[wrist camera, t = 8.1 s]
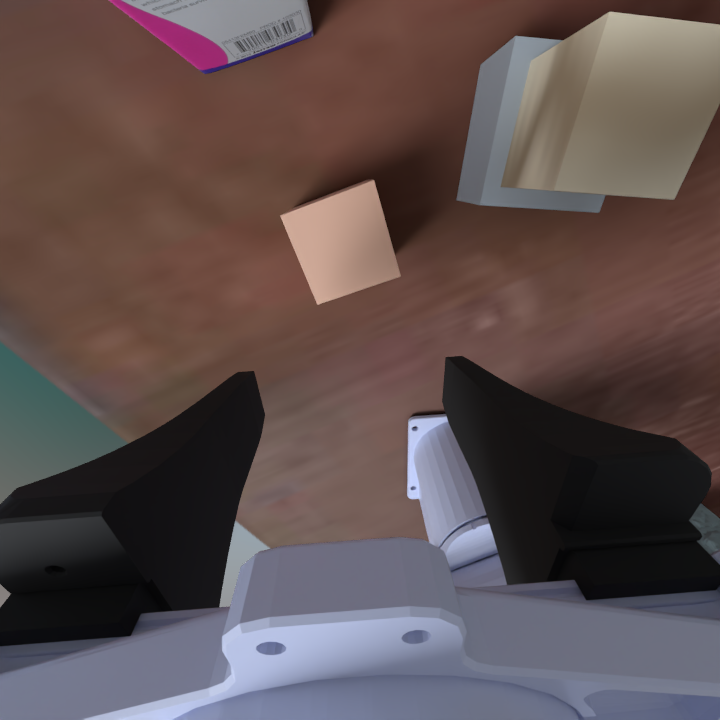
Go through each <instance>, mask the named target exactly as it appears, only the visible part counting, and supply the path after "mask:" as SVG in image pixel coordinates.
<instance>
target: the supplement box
mask: <svg viewBox="0 0 720 720" xmlns="http://www.w3.org/2000/svg"><path fill="white" fill-rule="evenodd" d="M109 1H110V2H112V3H113V4H114V5H115V6H117V7H118V8H119V9H120V10H122V11H123V12H125V13H126V14H127V15H129V16H130V17H131V18H132V19H134V20H135V21H136V22H138V23H139V24H140V25H141V26H143V27H144V28H145V29H147V30H148V31H149V32H151V33H152V34H153V35H154V36H156V37H157V38H159V39H160V40H161V41H163V42H164V43H165V44H167V45H168V46H169V47H171V48H172V49H173V50H174V51H176V52H177V53H178V54H180V55H181V56H182V57H183V58H185V59H186V60H187V61H188V62H190V63H191V64H192V65H194V66H195V67H196V68H197V69H199V70H200V71H201V72H203V73H204V74H207V73H212V72H215V71H218V70H221V69H224V68H227V67H230V66H233V65H236V64H239V63H242V62H245V61H247V60H250V59H253V58H256V57H258V56H261V55H264V54H267V53H270V52H272V51H275V50H278V49H281V48H283V47H286V46H288V45H291V44H294V43H296V42H299V41H302V40H304V39H307V38H310V37H312V36H313V26H312V22H311V16H310V11H309V7H308V2H307V0H109Z"/></svg>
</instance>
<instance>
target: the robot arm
mask: <svg viewBox="0 0 720 720" xmlns="http://www.w3.org/2000/svg"><path fill="white" fill-rule="evenodd" d="M442 402H443V406H444V409H445V413H446V414H439V415H425V416H414V417H411V418H410V419H409V421H408V468H407V495H408V497H409V498H410V499H419V500H420V504H421V509H422V513H423V517H424V521H425V526H426V530H427V534H428V539H429V542H427V541H425V540H423V539H418V538H406V537H390V538H377V539H363V540H350V541H337V542H324V543H311V544H298V545H285V546H280V547H276V548H272V549H268V550H264V551H260V552H258V553H257V554H255V555H254V556H253V557H252V558H251V559H249V560H248V561H247V562H246V563H245V564H243V565H242V566H241V568H240V572H239V575H238V579H237V583H236V587H235V590H234V594H233V598H232V602H231V605H230V607H219V604H220V598H221V591H222V585H223V579H224V574H225V568H226V563H227V557H228V552H229V547H230V542H231V537H232V532H233V527H234V523H235V519H236V514H237V510H238V505H239V501H240V498H241V494H242V491H243V488H244V485H245V482H246V479H247V476H248V473H249V470H250V468H251V465H252V462H253V459H254V456H255V453H256V450H257V447H258V444H259V441H260V438H261V434H262V429H263V423H264V417H265V413H264V409H263V405H262V401H261V397H260V393H259V389H258V385H257V381H256V377H255V373H254V371H248V372H237V373H236V374H234V375H233V376H231V377H230V378H228V379H227V380H226V381H224V382H223V383H222V384H221V385H219V386H218V387H217V388H215V389H214V390H213V391H211V392H210V393H209V394H207V395H206V396H205V397H204V398H202V399H201V400H200V401H198V402H197V403H195V404H194V405H192V406H191V407H190V408H188V409H187V410H185V411H184V412H182V413H181V414H180V415H178V416H177V417H175V418H174V419H172V420H170V421H169V422H167V423H166V424H164V425H162V426H161V427H159V428H157V429H155V430H154V431H152V432H150V433H148V434H147V435H145V436H143V437H141V438H139V439H137V440H135V441H133V442H131V443H129V444H127V445H125V446H123V447H121V448H119V449H117V450H115V451H113V452H111V453H108V454H106V455H104V456H102V457H99V458H97V459H95V460H92V461H90V462H88V463H85V464H82V465H80V466H78V467H75V468H72V469H70V470H67V471H65V472H62V473H59V474H56V475H53V476H51V477H48V478H46V479H42V480H39V481H36V482H34V483H31V484H28V485H25V486H22V487H19V488H17V489H16V490H14V491H13V492H12V494H10V495H9V496H8V497H7V498H6V499H5V500H4V501H3V502H2V503H1V504H0V584H1V585H2V586H3V587H4V588H5V589H6V590H7V591H9V592H10V593H12V594H11V595H10V596H9V597H8V599H7V600H6V601H5V602H4V604H3V605H2V606H1V607H0V720H720V549H719V550H717V551H715V552H713V553H711V554H709V553H708V552H707V551H706V550H705V549H704V548H703V547H702V546H701V545H700V544H699V543H698V542H697V541H698V540H700V539H701V538H702V534H701V532H700V531H699V530H698V529H697V528H696V527H695V526H694V525H693V524H692V523H691V522H690V521H689V520H690V518H691V517H692V516H693V514H694V513H695V511H696V510H697V508H698V507H699V505H700V504H701V502H702V501H703V499H704V498H705V496H706V494H707V492H708V490H709V488H710V486H711V475H712V473H711V471H710V468H709V466H708V465H707V464H706V463H705V462H704V461H702V460H701V459H700V458H699V457H697V456H696V455H695V454H694V453H693V452H691V451H690V450H689V449H688V448H686V447H685V446H684V445H683V444H681V443H680V442H679V441H678V440H676V439H675V438H670V437H665V436H660V435H656V434H651V433H646V432H641V431H637V430H632V429H628V428H624V427H620V426H616V425H613V424H609V423H605V422H602V421H598V420H595V419H592V418H588V417H585V416H582V415H579V414H576V413H574V412H571V411H568V410H565V409H562V408H560V407H557V406H554V405H552V404H550V403H547V402H545V401H543V400H540V399H538V398H536V397H534V396H532V395H529V394H527V393H525V392H523V391H522V390H520V389H518V388H516V387H514V386H512V385H510V384H508V383H507V382H505V381H503V380H501V379H500V378H498V377H496V376H495V375H493V374H491V373H490V372H488V371H486V370H485V369H483V368H482V367H480V366H478V365H477V364H475V363H473V362H472V361H470V360H468V359H467V358H465V357H463V356H455V357H446V360H445V373H444V386H443V399H442ZM414 426H417V427H416V428H413V427H414ZM413 486H414V487H413Z"/></svg>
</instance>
